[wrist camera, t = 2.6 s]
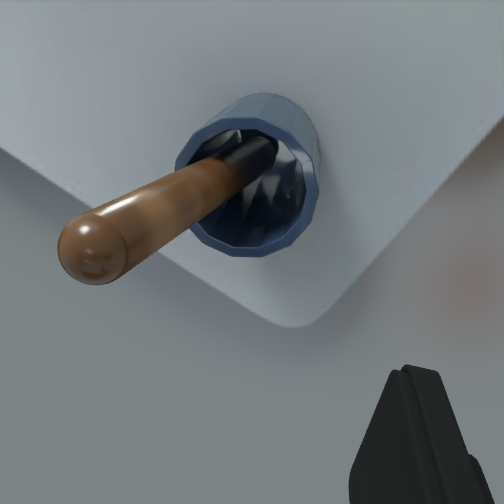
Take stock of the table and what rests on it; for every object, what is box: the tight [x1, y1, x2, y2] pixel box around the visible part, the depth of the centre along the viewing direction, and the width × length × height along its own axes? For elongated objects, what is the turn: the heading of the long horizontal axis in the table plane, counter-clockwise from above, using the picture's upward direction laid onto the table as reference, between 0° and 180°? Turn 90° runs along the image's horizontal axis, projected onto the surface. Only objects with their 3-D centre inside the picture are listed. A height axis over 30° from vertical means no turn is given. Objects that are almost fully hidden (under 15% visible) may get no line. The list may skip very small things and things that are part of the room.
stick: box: [57, 136, 276, 285], centre depth 19 cm, size 2×2×16 cm
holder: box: [174, 93, 319, 257], centre depth 23 cm, size 6×6×8 cm
